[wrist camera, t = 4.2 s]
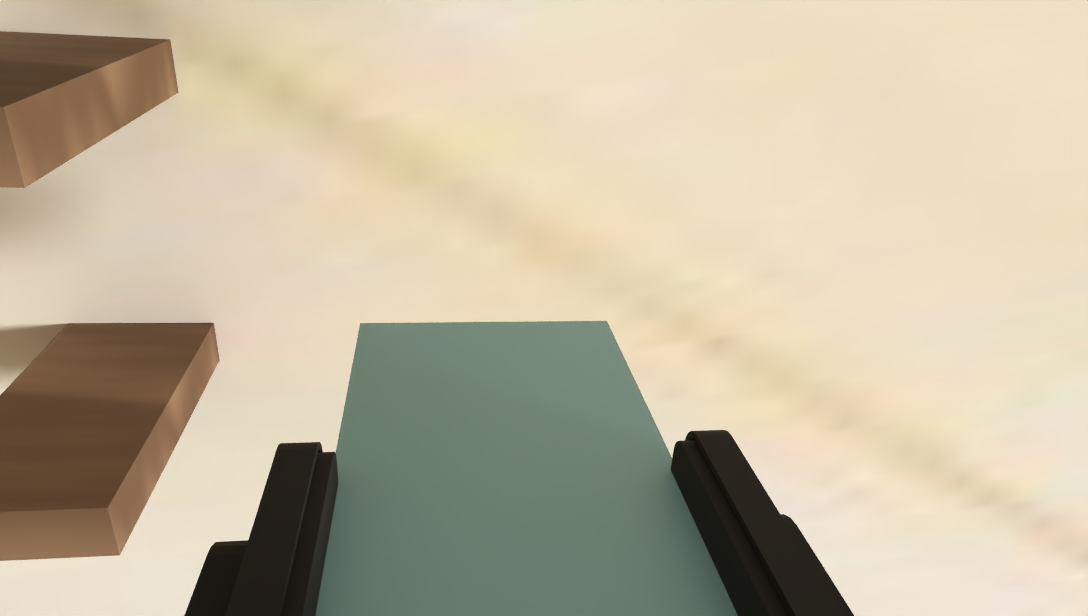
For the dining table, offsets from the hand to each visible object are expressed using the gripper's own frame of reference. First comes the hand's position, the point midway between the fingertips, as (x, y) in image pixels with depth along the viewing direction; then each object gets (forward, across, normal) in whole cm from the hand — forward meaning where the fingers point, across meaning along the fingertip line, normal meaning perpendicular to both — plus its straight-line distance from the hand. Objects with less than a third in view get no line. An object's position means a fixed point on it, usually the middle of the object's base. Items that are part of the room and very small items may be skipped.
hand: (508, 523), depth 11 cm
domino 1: (+17, +12, -4) cm, 21 cm away
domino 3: (+5, 0, 0) cm, 5 cm away
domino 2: (+17, +12, +6) cm, 22 cm away
